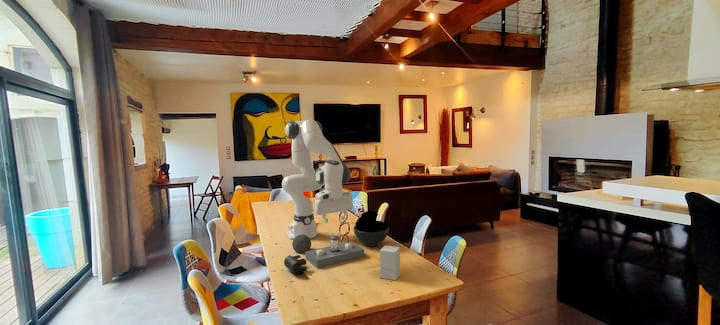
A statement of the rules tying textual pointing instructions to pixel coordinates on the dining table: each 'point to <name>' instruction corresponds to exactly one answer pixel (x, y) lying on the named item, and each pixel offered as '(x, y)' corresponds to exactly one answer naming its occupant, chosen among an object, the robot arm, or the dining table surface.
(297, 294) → the dining table surface
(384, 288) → the dining table surface
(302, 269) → the end cap
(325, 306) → the dining table surface
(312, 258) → the block
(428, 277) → the dining table surface
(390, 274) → the supplement box
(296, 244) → the decorative ball
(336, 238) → the steel plug
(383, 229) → the coal bowl
